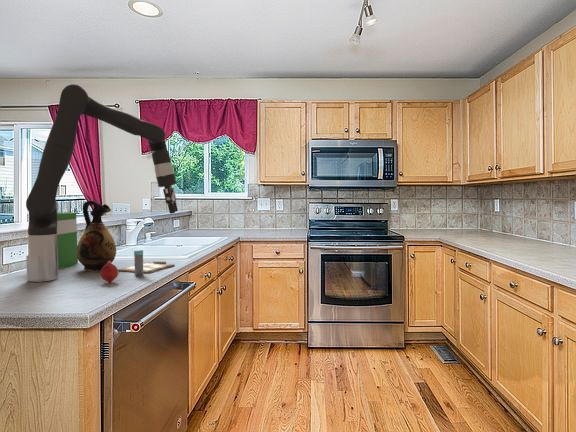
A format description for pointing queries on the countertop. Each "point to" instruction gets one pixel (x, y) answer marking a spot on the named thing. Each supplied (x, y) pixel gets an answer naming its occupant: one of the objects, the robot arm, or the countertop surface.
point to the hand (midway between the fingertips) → (174, 212)
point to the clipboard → (149, 267)
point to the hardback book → (66, 239)
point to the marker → (138, 262)
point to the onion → (109, 272)
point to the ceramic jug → (95, 239)
